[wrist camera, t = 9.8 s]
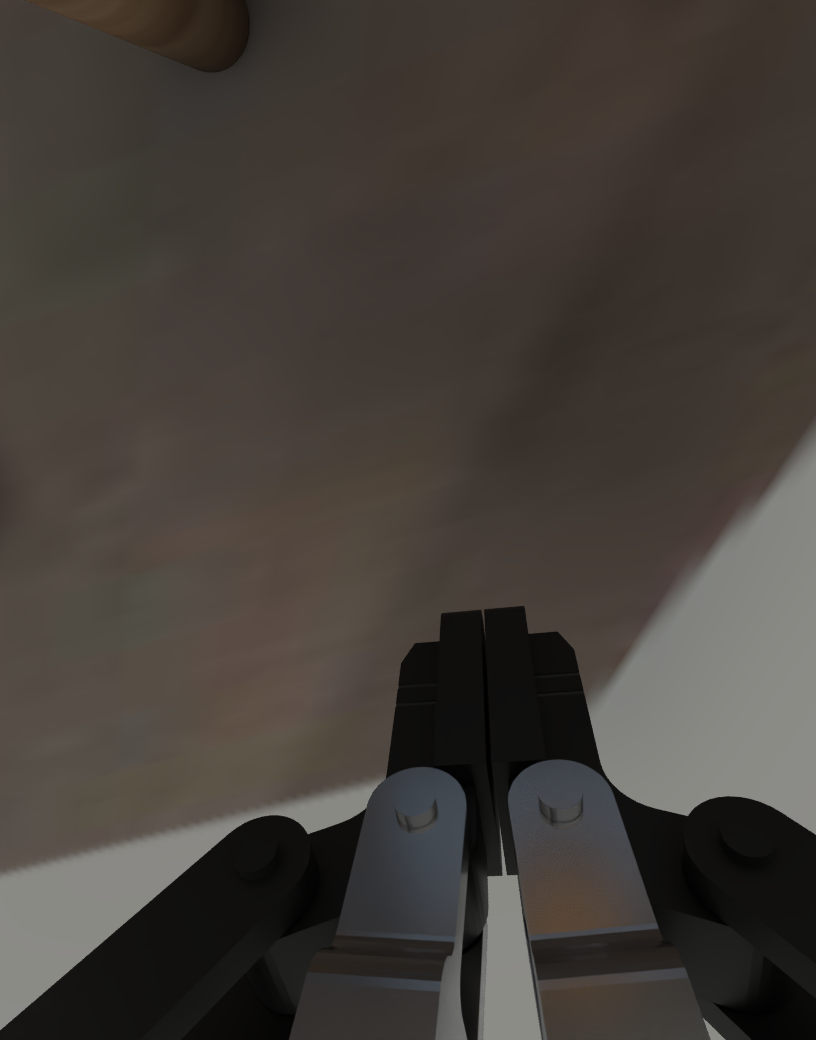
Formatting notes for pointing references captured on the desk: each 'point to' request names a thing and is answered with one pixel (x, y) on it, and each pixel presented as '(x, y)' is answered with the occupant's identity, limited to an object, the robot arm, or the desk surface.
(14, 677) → the desk surface
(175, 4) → the post
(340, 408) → the desk surface
